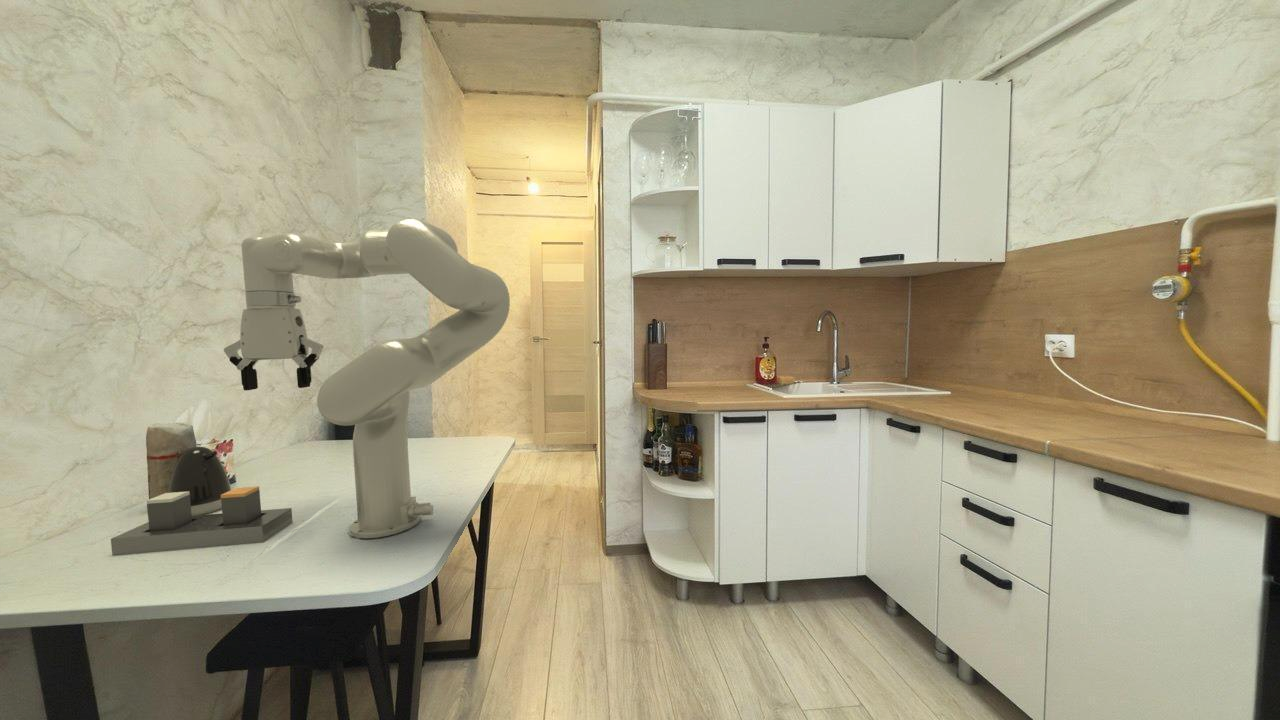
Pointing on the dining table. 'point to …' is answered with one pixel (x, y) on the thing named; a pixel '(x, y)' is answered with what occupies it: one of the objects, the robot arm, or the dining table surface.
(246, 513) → the plug
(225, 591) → the dining table surface
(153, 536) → the grey slotted tray
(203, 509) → the dark grey dome
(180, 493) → the twin plug
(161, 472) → the tan rounded column
